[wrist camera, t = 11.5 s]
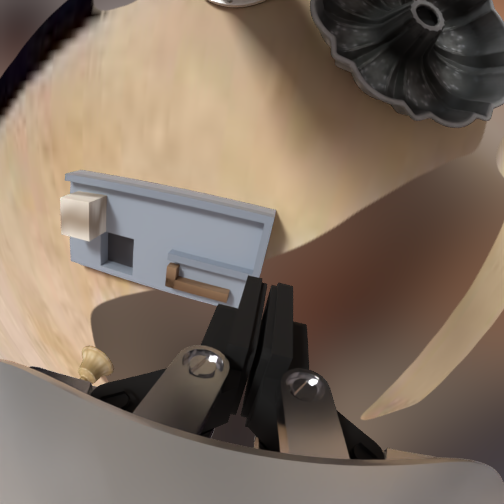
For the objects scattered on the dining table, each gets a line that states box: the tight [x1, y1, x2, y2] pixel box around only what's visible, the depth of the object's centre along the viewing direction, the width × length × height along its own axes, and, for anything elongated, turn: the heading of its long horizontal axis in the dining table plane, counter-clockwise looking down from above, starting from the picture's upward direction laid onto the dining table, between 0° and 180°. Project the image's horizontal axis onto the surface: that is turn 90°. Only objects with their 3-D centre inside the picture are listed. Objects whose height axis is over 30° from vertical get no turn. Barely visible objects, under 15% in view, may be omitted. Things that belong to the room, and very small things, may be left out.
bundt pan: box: [310, 0, 504, 128], centre depth 23 cm, size 26×26×10 cm
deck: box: [65, 170, 276, 308], centre depth 40 cm, size 15×31×4 cm, turn 78°
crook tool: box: [165, 262, 230, 303], centre depth 41 cm, size 3×9×1 cm, turn 77°
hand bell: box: [78, 346, 114, 384], centre depth 48 cm, size 8×8×16 cm
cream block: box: [60, 191, 107, 241], centre depth 37 cm, size 6×6×4 cm
